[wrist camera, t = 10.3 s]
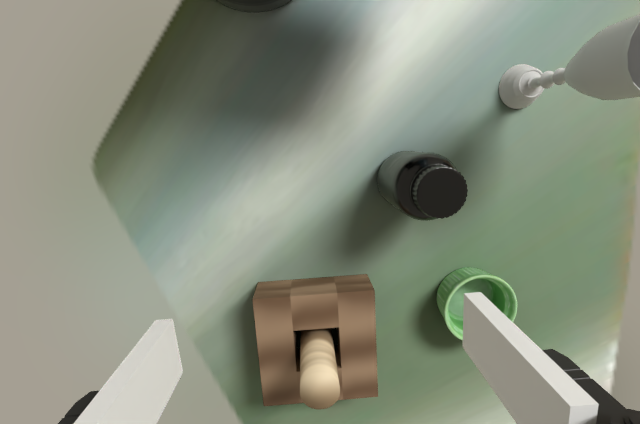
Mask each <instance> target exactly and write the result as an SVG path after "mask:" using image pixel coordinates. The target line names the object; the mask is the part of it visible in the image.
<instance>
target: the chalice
mask: <svg viewBox="0 0 640 424" xmlns="http://www.w3.org/2000/svg"><path fill="white" fill-rule="evenodd" d="M565 82H566V83H567V84H568V85H569V86H571V87H572V88H574V89H576V90H577V91H579V92H581V93H583V94H585V95H588V96H591V97H595V98H598V99H601V100H618V99H625V98H633V97H640V14H639V15H636V16H634V17H631V18H628V19H626V20H623V21H621V22H618V23H615V24H613V25H610V26H608V27H606V28H605V29H603V30H602V31H600V32H599V33H597V34H596V35H595V36H594V37H593V38H592V39H590V40H589V41H588V42H587V43H586V44H584V45H583V47H582V48H581V49H580V50H579V51H578V52H577V53H576V55H575V56H574V57H573V58H572V59H571V61H570V62H569V63H568V64H567V66H566V68H559V69H557V70H556V71H555V72H552V71H546V72H544V73H542V72H541V71H540V70H539V69H537V68H535V67H532V66H529V65H527V64H519V65H515V66H513V67H511V68H510V69H508V70H507V71H506V72H505V73H504V75H503V76H502V78H501V81H500V84H499V94H500V97H501V99H502V101H503V103H505V104H506V105H507V106H508V107H511V108H513V109H521V108H525V107H527V106H529V105H530V104H532V103H533V102H534V101H535V100H536V99H537V98H538V97H539V96H540V95H541V94H542V92H543V90H544V88H545V89H548V88H550V87H552V86H553V85H554V83H555V84H557V85H561V84H564V83H565Z"/></svg>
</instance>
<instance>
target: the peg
mask: <svg viewBox="0 0 640 424" xmlns="http://www.w3.org/2000/svg"><path fill="white" fill-rule="evenodd" d="M339 395H340V385H339V378H338V371H337V365H336V358H335V351H334V344H333V337H332V330H331V328H323V329H311V330H301V350H300V396H301V399H302V401H303V402H304V403H305V404H306V405H307V406H309V407H311V408H314V409H325V408H328V407H330V406H332V405H333V404H334V403H335V402H336V401H337V400H338V398H339Z"/></svg>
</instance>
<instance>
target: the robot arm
mask: <svg viewBox="0 0 640 424" xmlns="http://www.w3.org/2000/svg"><path fill="white" fill-rule="evenodd" d="M217 1H218V2H220V3H222V4H224V5H226V6H228V7H230V8H233V9H236V10H240V11H246V12H263V11H269V10H272V9H275V8H278V7H280V6H283V5H284V4H286V3H288V2H289V1H291V0H217ZM463 348H464V350H465V351H466V352H467V354H468V355H469V357H470V358H471V359H472V361H473V362H474V364H475V365H476V367H477V368H478V369H479V371H480V372H481V374H482V375H483V376H484V378H485V379H486V381H487V382H488V383H489V385H490V386H491V388H492V389H493V391H494V392H495V393H496V395H497V396H498V398H499V399H500V400H501V402H502V403H503V405H504V406H505V408H506V409H507V410H508V412H509V413H510V415H511V416H512V417H513V419H514V420H515V422H516V423H517V424H640V411H635V410H631V409H626V408H625V407H623V406H622V405H621V404H620V403H619V402H618V401H617V400H616V399H614V398H613V397H612V396H611V395H610V394H609V393H608V392H606V391H605V390H604V389H603V388H602V387H601V386H600V385H599V384H597V383H596V382H595V381H594V380H593V379H590V377H589V376H588V375H587V374H586V373H585V372H584V371H583V370H580V368H579V367H578V366H577V365H576V364H575V363H574V362H573V361H571V360H570V359H569V358H568V357H566V356H564V355H562V354H561V353H559V352H557V351H555V350H553V349H548V350H541V349H540V348H539V347H538V346H537V345H536V344H535V343H534V342H533V341H532V340H531V339H530V338H529V337H528V336H526V335H525V334H524V333H523V332H522V331H521V330H520V329H519V328H518V327H517V326H516V325H515V324H514V323H513V322H512V321H511V320H510V319H509V318H508V317H506V316H505V315H504V314H503V313H502V312H501V311H500V310H499V309H498V308H497V307H496V306H495V305H494V304H493V303H492V302H491V301H490V300H489V299H488V298H486V297H485V296H484V295H483V294H482V293H481V292H474V293H464V308H463ZM182 373H183V369H182V364H181V359H180V354H179V349H178V344H177V338H176V334H175V328H174V323H173V319H164V320H155V321H154V323H153V324H152V325H151V327H150V328H149V329H148V330H147V331H146V333H145V334H144V335H143V337H142V338H141V339H140V340H139V342H138V343H137V344H136V345H135V347H134V348H133V349H132V350H131V352H130V353H129V354H128V355H127V357H126V358H125V359H124V361H123V362H122V363H121V365H120V366H119V367H118V368H117V369H116V371H115V372H114V373H113V374H112V376H111V377H110V378H109V379H108V381H107V382H106V383H105V385H104V386H103V387H102V388H101V390H100V391H91V392H89V393H88V394H87V395H85V396H84V397H83V398H81V399H80V400H79V401H78V402H76V403H75V404H74V405H73V407H72V408H71V409H70V410H69V411H68V413H67V414H66V415H65V418H63V419H62V420H61V421H60V422H59V423H58V424H157V422H158V420H159V418H160V416H161V414H162V412H163V410H164V408H165V406H166V404H167V402H168V400H169V398H170V396H171V395H172V392H173V391H174V389H175V387H176V385H177V383H178V381H179V379H180V377H181V375H182Z"/></svg>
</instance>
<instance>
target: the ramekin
mask: <svg viewBox="0 0 640 424" xmlns="http://www.w3.org/2000/svg"><path fill="white" fill-rule="evenodd" d="M474 292H481V293H482V294H483V295H484V296H485V297H486V298H488V299H489V300H490V301H491V302H492V303H493V304H494V305H495V306H496V307H497V308H498V309H499V310H500V311H501V312H502V313H503V314H504V315H505V316H506V317H508V318H509V319H510V320H511V321H512V322H513V321H514V319H515V316H516V313H517V299H516V295H515V293H514V291H513V289H512V288H511V287H510V286H509V284H507V283H506V282H505V281H504V280H502V279H500V278H498V277H496V276H493V275H490V274H488V273H487V272H485V271H483V270H480V269H478V268H469V267H467V268H461V269H458V270H455V271H453V272H452V273H450V274H449V275H448V276H447V277H445V278H444V280H443V281H442V282H441V284H440V286H439V288H438V291H437V305H438V308H439V310H440V313H441V314H442V316H443V318H444V320H445V323H446V325H447V327H448V329H449V330H450V332H451V333H452V334H453V335H454V336H455V337H457V338H458V339H460V340H462V341H463V308H464V293H474Z"/></svg>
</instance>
